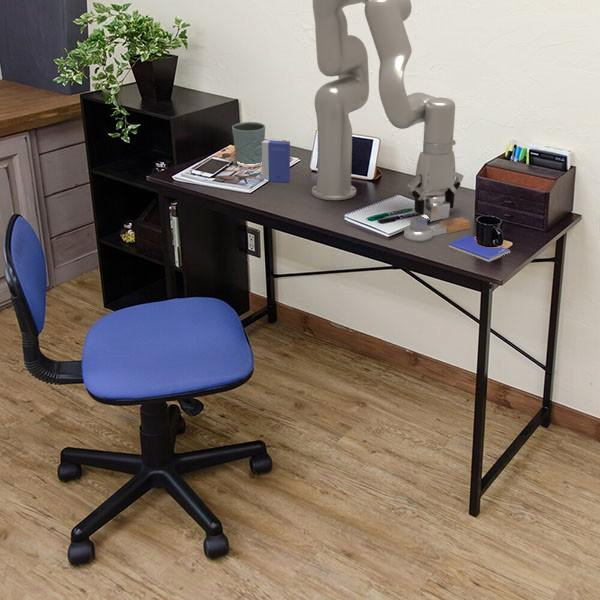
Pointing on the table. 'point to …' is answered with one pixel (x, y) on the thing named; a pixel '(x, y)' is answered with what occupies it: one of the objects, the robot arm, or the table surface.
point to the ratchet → (432, 228)
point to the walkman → (276, 160)
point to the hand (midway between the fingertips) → (434, 209)
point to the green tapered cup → (248, 142)
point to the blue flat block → (478, 249)
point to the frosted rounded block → (436, 206)
